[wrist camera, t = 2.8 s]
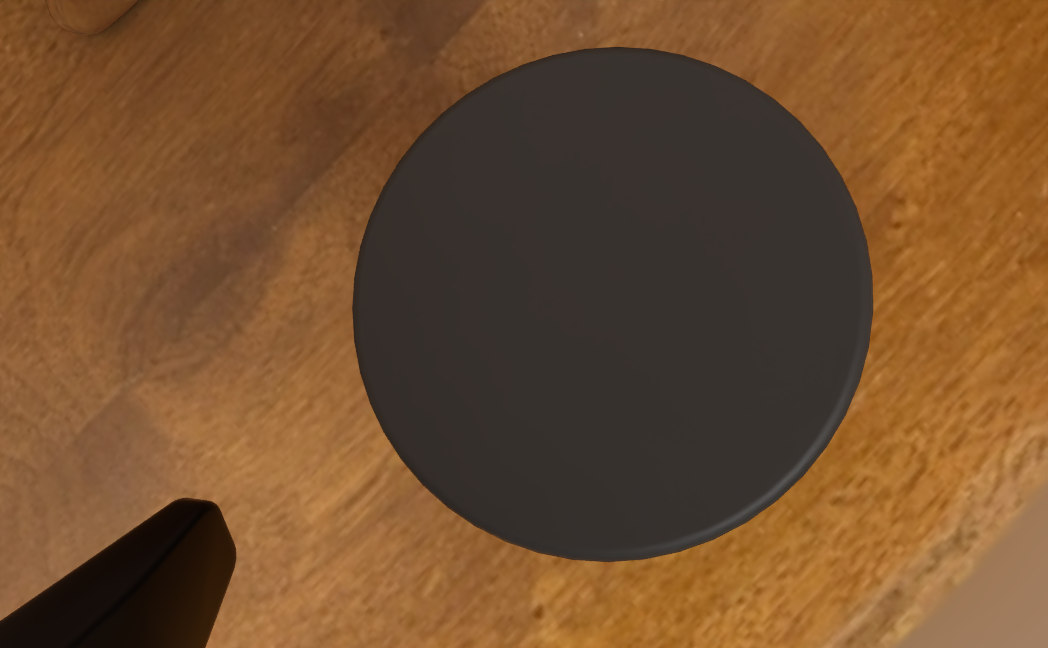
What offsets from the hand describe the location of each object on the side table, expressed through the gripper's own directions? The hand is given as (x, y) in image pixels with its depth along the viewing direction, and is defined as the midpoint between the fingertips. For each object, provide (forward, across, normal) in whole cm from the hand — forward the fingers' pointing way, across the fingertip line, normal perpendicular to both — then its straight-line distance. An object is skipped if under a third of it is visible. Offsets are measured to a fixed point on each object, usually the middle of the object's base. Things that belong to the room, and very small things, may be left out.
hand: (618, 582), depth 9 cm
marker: (+8, 0, +5) cm, 10 cm away
